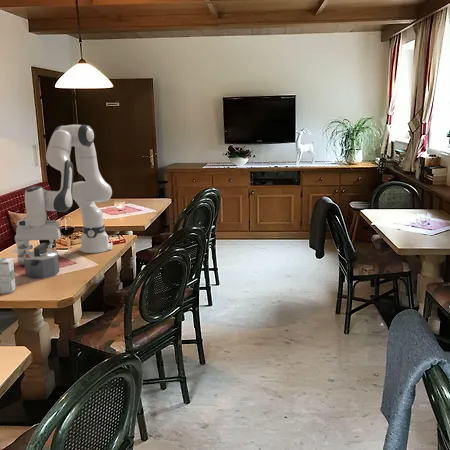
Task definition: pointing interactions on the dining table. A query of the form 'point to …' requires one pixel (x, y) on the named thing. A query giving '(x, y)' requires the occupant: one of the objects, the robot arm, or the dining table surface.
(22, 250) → the plastic bottle
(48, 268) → the pot
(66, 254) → the dining table surface
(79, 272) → the dining table surface
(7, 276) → the syrup box
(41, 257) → the lid
